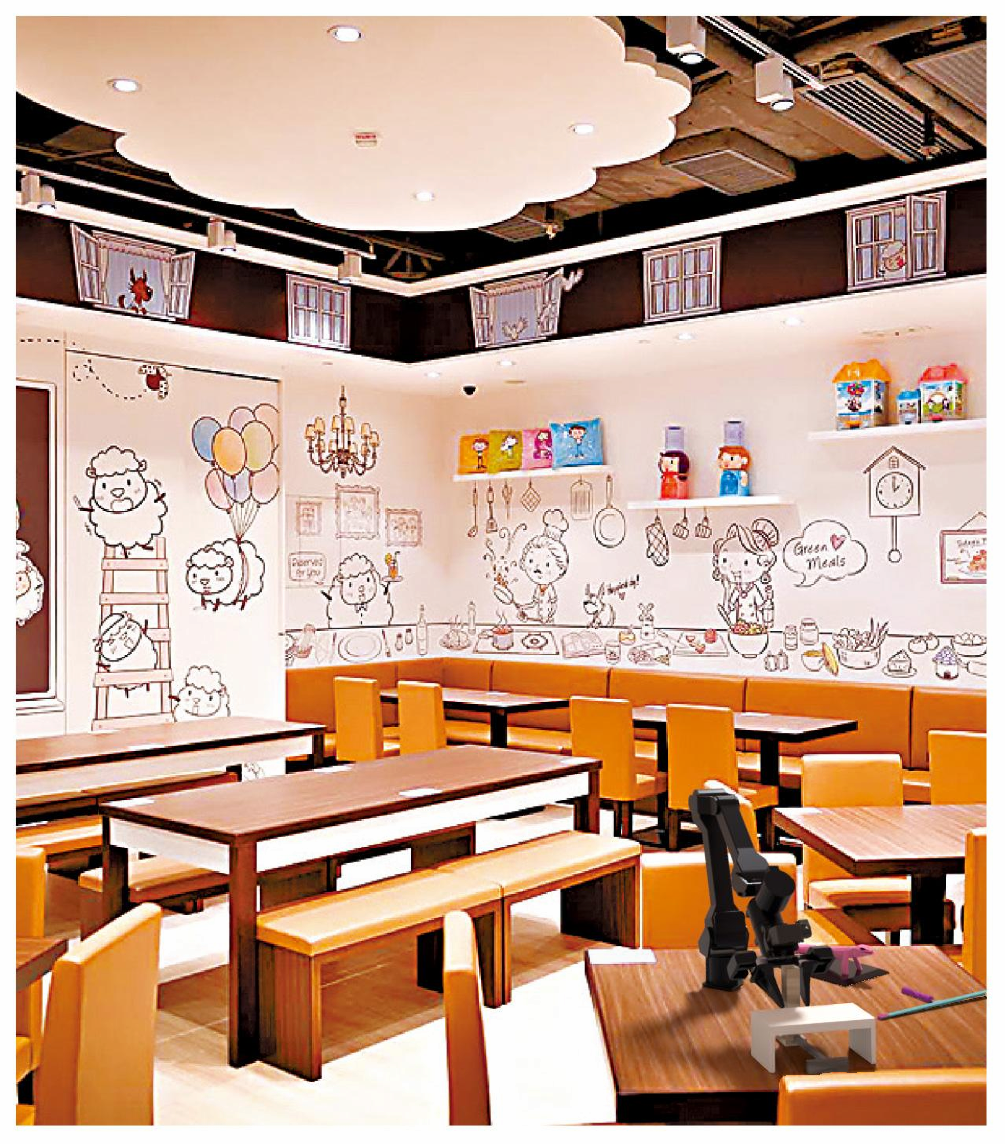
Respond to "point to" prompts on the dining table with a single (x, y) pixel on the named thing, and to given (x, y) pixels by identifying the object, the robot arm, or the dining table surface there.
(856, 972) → the lizard figurine
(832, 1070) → the steel token
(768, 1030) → the white footstool bench
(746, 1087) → the dining table surface
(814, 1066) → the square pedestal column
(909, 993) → the squeegee
